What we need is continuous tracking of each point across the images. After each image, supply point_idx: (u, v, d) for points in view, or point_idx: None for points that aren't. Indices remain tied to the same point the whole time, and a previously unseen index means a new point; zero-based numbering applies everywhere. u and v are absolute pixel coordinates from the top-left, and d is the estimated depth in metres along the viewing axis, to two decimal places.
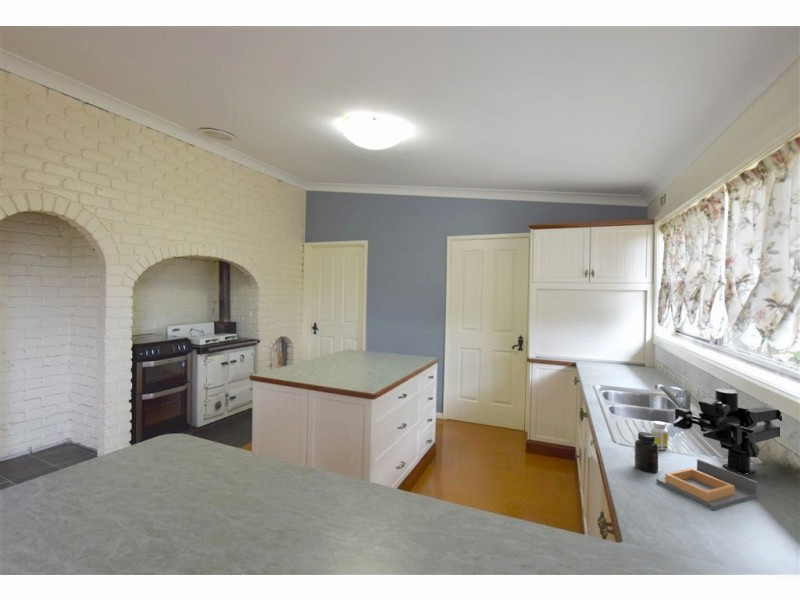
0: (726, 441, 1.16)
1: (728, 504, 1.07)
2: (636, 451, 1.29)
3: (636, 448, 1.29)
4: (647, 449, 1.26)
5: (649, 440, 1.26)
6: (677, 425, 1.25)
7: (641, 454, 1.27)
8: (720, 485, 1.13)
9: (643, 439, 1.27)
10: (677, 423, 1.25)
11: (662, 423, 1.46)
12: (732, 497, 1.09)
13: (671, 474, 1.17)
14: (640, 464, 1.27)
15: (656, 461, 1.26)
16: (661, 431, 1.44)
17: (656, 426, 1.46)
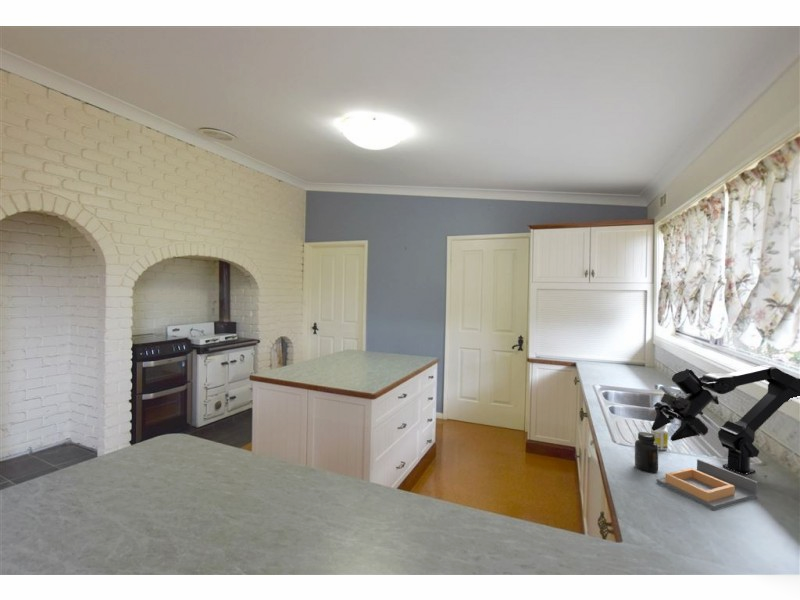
0: (695, 434, 1.22)
1: (728, 504, 1.07)
2: (636, 451, 1.29)
3: (636, 448, 1.29)
4: (647, 449, 1.26)
5: (649, 440, 1.26)
6: (656, 427, 1.33)
7: (641, 454, 1.27)
8: (720, 485, 1.13)
9: (643, 439, 1.27)
10: (655, 426, 1.33)
11: None
12: (732, 497, 1.09)
13: (671, 474, 1.17)
14: (640, 464, 1.27)
15: (656, 461, 1.26)
16: (661, 431, 1.44)
17: None
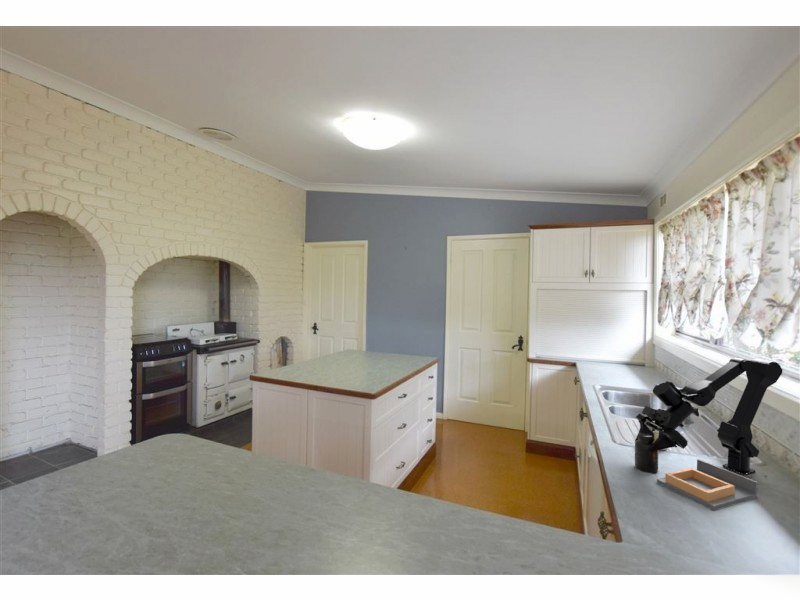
0: (673, 445, 1.23)
1: (728, 504, 1.07)
2: (636, 451, 1.29)
3: (636, 448, 1.29)
4: (647, 449, 1.26)
5: (649, 440, 1.26)
6: None
7: (641, 454, 1.27)
8: (720, 485, 1.13)
9: (643, 439, 1.27)
10: None
11: None
12: (732, 497, 1.09)
13: (671, 474, 1.17)
14: (640, 464, 1.27)
15: (656, 461, 1.26)
16: None
17: None
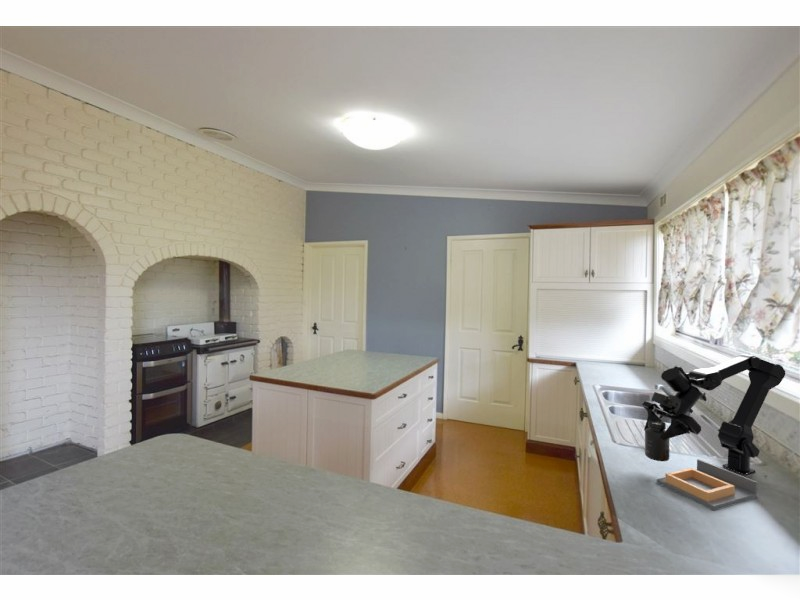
0: (685, 432, 1.20)
1: (728, 504, 1.07)
2: (647, 440, 1.25)
3: (647, 437, 1.25)
4: (659, 438, 1.22)
5: (661, 428, 1.22)
6: None
7: (653, 442, 1.23)
8: (720, 485, 1.13)
9: (655, 427, 1.23)
10: (647, 427, 1.28)
11: None
12: (732, 497, 1.09)
13: (671, 474, 1.17)
14: (652, 453, 1.23)
15: (668, 449, 1.22)
16: None
17: None
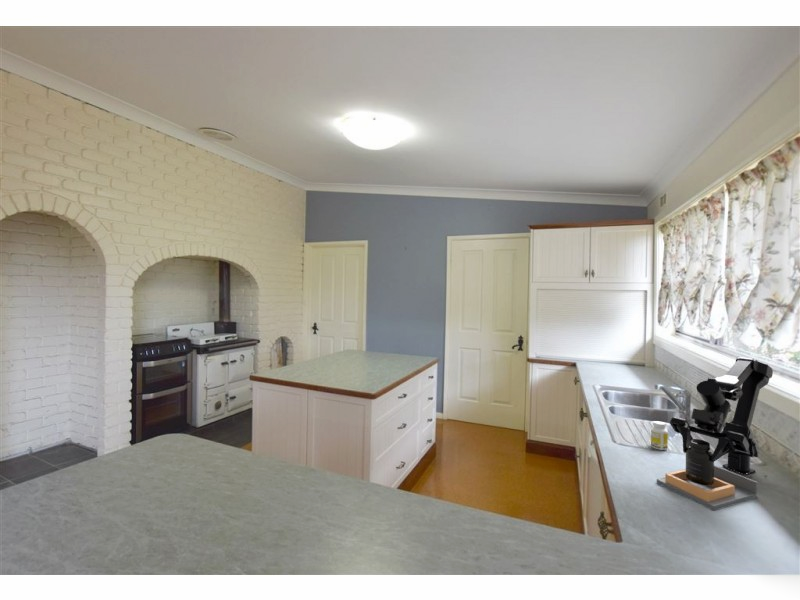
0: (731, 450, 1.11)
1: (728, 504, 1.07)
2: (694, 463, 1.12)
3: (694, 460, 1.12)
4: (709, 460, 1.11)
5: (708, 448, 1.12)
6: None
7: (703, 466, 1.11)
8: (720, 485, 1.13)
9: (702, 448, 1.12)
10: (686, 447, 1.17)
11: (662, 423, 1.46)
12: (732, 497, 1.09)
13: (671, 474, 1.17)
14: (700, 478, 1.11)
15: (713, 470, 1.12)
16: (661, 431, 1.44)
17: (656, 426, 1.46)
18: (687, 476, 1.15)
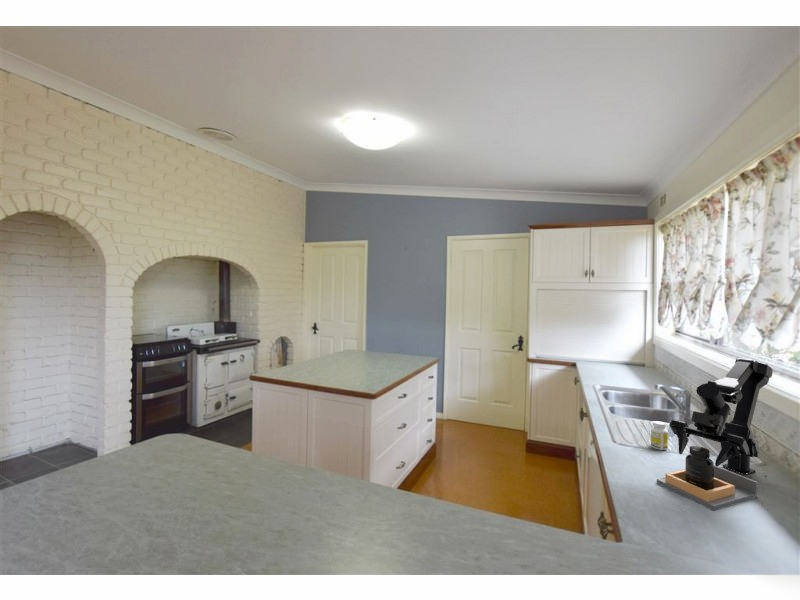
0: (735, 454, 1.10)
1: (728, 504, 1.07)
2: (693, 470, 1.13)
3: (694, 467, 1.12)
4: (708, 467, 1.11)
5: (708, 456, 1.12)
6: (682, 450, 1.18)
7: (702, 473, 1.11)
8: (720, 485, 1.13)
9: (702, 455, 1.12)
10: (682, 449, 1.18)
11: (662, 423, 1.46)
12: (732, 497, 1.09)
13: (671, 474, 1.17)
14: (700, 485, 1.11)
15: (713, 478, 1.12)
16: (661, 431, 1.44)
17: (656, 426, 1.46)
18: None
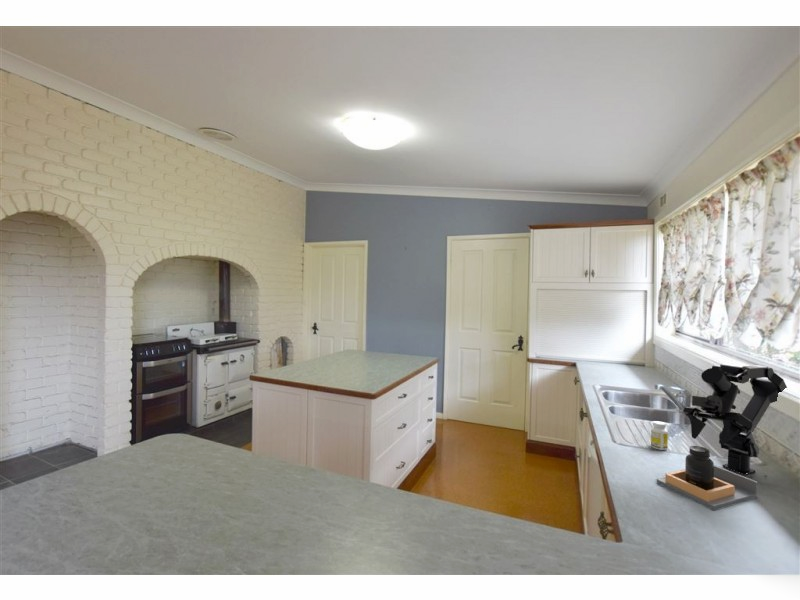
0: (741, 430, 1.15)
1: (728, 504, 1.07)
2: (693, 470, 1.13)
3: (693, 467, 1.13)
4: (708, 467, 1.11)
5: (708, 456, 1.12)
6: (696, 434, 1.25)
7: (702, 473, 1.11)
8: (720, 485, 1.13)
9: (702, 455, 1.12)
10: (694, 433, 1.25)
11: (662, 423, 1.46)
12: (732, 497, 1.09)
13: (671, 474, 1.17)
14: (700, 485, 1.11)
15: (713, 478, 1.12)
16: (661, 431, 1.44)
17: (656, 426, 1.46)
18: None
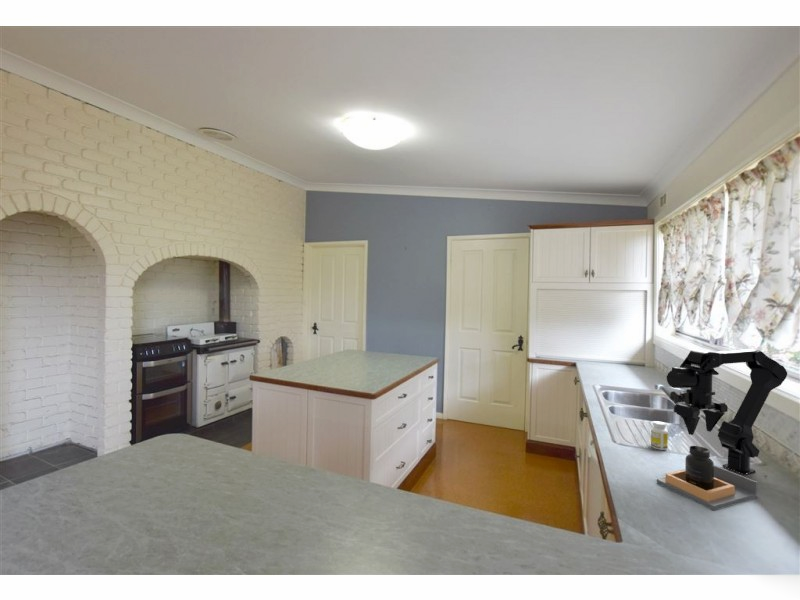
0: (694, 418, 1.23)
1: (728, 504, 1.07)
2: (693, 470, 1.13)
3: (694, 467, 1.12)
4: (708, 467, 1.11)
5: (708, 456, 1.12)
6: (709, 427, 1.29)
7: (702, 473, 1.11)
8: (720, 485, 1.13)
9: (702, 455, 1.12)
10: (707, 426, 1.29)
11: (662, 423, 1.46)
12: (732, 497, 1.09)
13: (671, 474, 1.17)
14: (700, 485, 1.11)
15: (713, 478, 1.12)
16: (661, 431, 1.44)
17: (656, 426, 1.46)
18: None
